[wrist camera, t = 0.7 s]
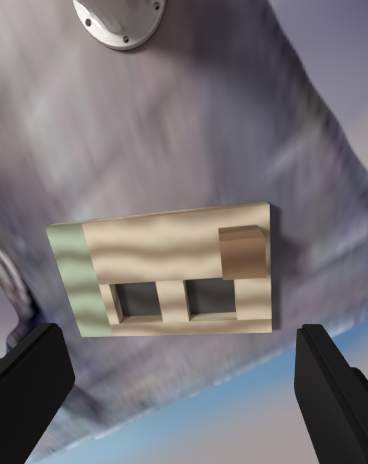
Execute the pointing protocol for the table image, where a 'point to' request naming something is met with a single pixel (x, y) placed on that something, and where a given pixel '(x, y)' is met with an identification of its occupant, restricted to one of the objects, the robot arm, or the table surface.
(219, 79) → the table surface
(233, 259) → the walnut cube
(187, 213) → the board
